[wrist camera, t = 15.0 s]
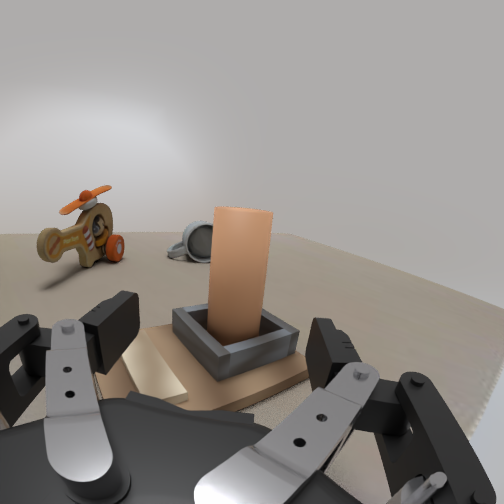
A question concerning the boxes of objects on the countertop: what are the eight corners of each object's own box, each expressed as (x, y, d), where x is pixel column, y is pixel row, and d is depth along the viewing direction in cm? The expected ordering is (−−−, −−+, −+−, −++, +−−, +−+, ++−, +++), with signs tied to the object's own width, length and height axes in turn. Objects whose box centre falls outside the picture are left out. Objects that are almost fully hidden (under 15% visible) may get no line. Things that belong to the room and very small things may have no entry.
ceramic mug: (212, 252, 62) (215, 218, 60) (223, 263, 55) (226, 224, 53) (165, 252, 58) (166, 216, 56) (169, 263, 50) (170, 222, 49)
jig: (121, 446, 12) (109, 410, 11) (87, 347, 21) (82, 313, 20) (313, 374, 23) (323, 341, 22) (236, 320, 32) (239, 292, 31)
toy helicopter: (127, 257, 50) (130, 185, 47) (65, 295, 30) (62, 188, 27) (93, 252, 50) (95, 184, 47) (27, 284, 30) (22, 188, 27)
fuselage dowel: (223, 363, 21) (236, 212, 19) (197, 337, 25) (204, 205, 22) (267, 349, 24) (285, 214, 21) (238, 328, 28) (249, 207, 25)
